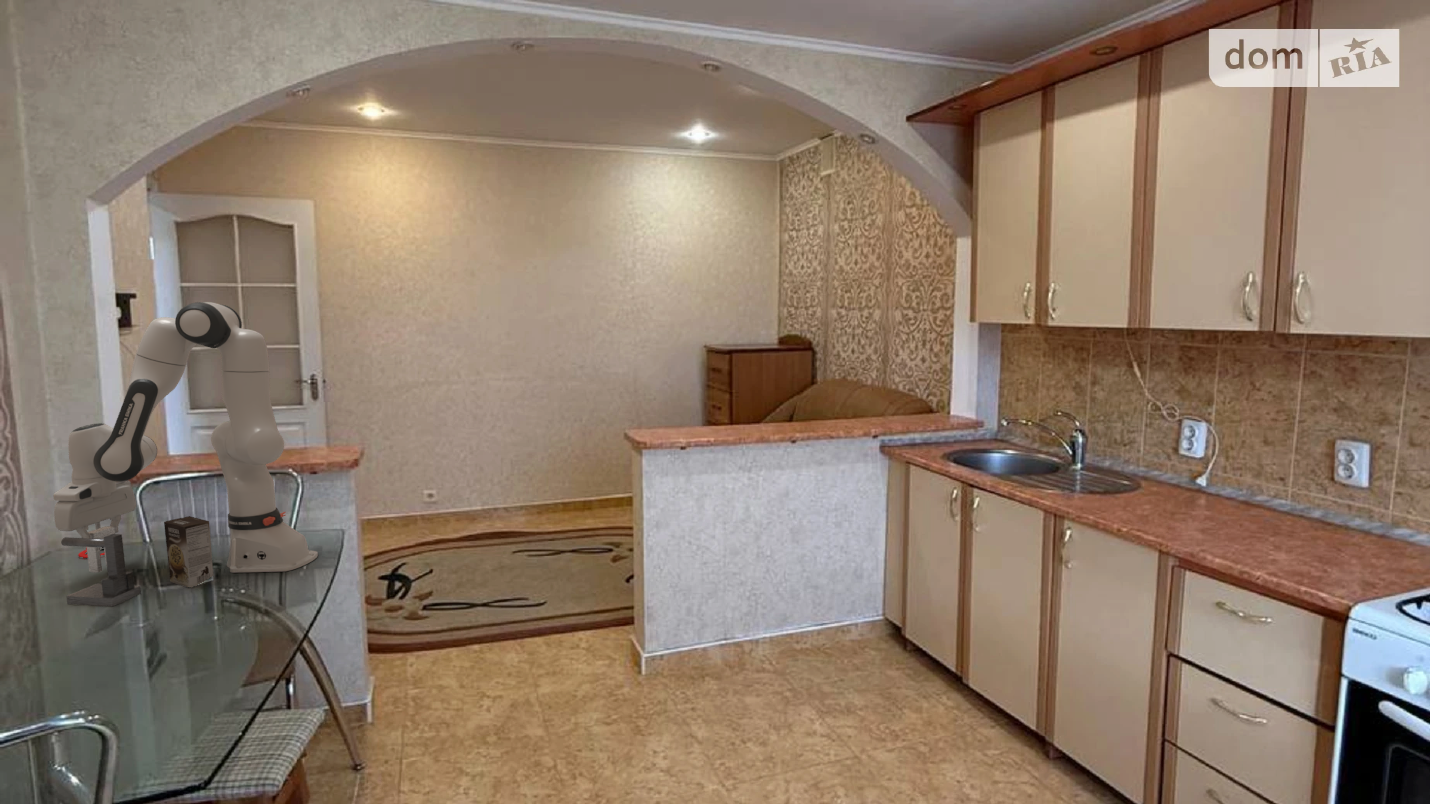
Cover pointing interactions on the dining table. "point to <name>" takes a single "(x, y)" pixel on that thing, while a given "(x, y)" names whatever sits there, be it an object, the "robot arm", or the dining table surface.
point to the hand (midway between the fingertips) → (100, 537)
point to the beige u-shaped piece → (98, 548)
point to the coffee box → (188, 550)
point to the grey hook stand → (118, 580)
